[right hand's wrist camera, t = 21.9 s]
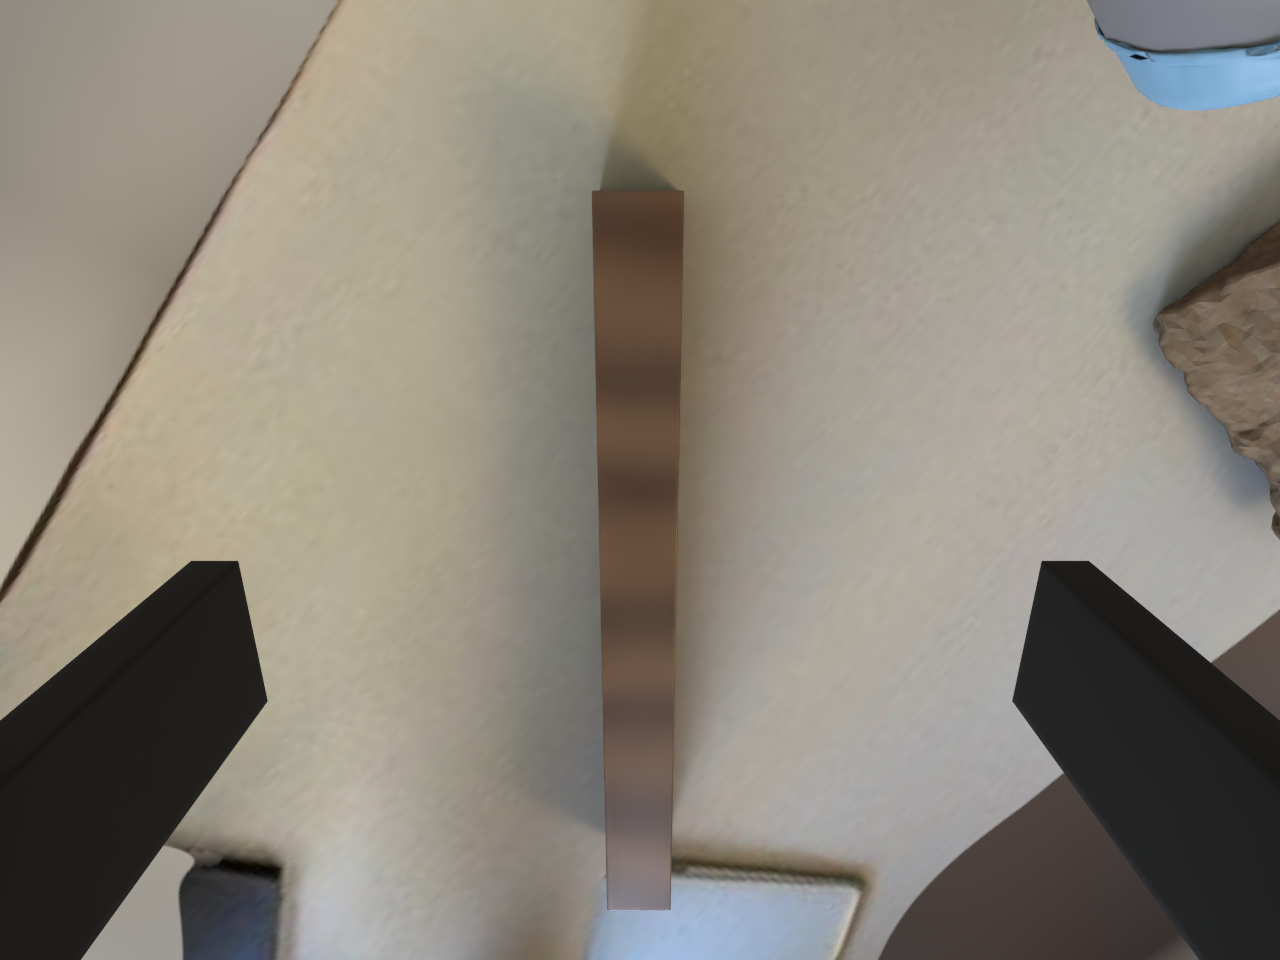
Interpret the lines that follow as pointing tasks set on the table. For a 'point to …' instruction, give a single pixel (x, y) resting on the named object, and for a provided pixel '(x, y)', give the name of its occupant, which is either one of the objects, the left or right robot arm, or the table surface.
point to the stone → (1235, 353)
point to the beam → (638, 527)
